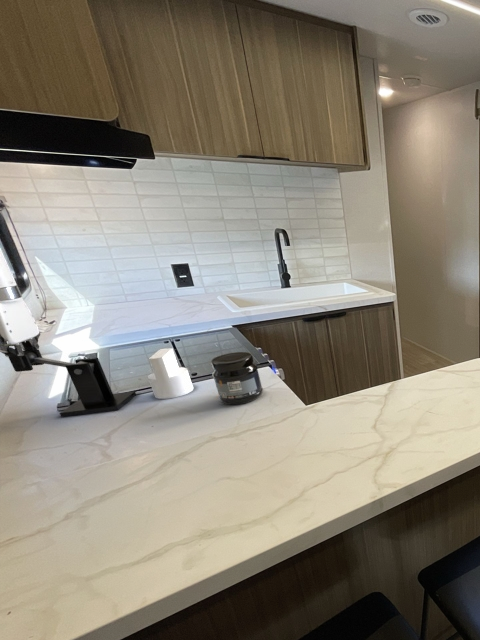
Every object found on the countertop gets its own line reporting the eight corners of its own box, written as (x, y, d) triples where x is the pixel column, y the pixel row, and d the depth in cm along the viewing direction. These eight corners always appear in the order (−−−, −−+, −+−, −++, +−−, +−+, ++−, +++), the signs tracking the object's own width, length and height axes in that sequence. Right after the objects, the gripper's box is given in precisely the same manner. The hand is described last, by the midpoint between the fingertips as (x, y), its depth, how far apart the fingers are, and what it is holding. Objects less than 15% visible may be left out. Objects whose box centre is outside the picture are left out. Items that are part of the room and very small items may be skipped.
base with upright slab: (161, 388, 119) (147, 350, 114) (197, 383, 122) (185, 346, 117) (149, 401, 111) (134, 360, 107) (188, 395, 114) (175, 356, 110)
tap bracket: (61, 417, 103) (38, 371, 98) (84, 401, 112) (65, 357, 107) (118, 410, 106) (99, 365, 101) (136, 394, 115) (120, 352, 110)
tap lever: (12, 365, 98) (12, 352, 98) (22, 360, 101) (23, 348, 101) (87, 377, 104) (88, 365, 103) (94, 372, 107) (95, 360, 106)
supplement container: (250, 387, 119) (240, 349, 115) (271, 394, 115) (262, 355, 110) (212, 400, 111) (200, 360, 106) (234, 409, 106) (221, 367, 102)
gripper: (3, 289, 100) (34, 358, 107) (-57, 303, 86) (-16, 381, 93) (41, 288, 103) (70, 355, 110) (-11, 301, 88) (26, 378, 95)
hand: (30, 367), depth 101 cm, fingers closed on tap lever, 3 cm apart
